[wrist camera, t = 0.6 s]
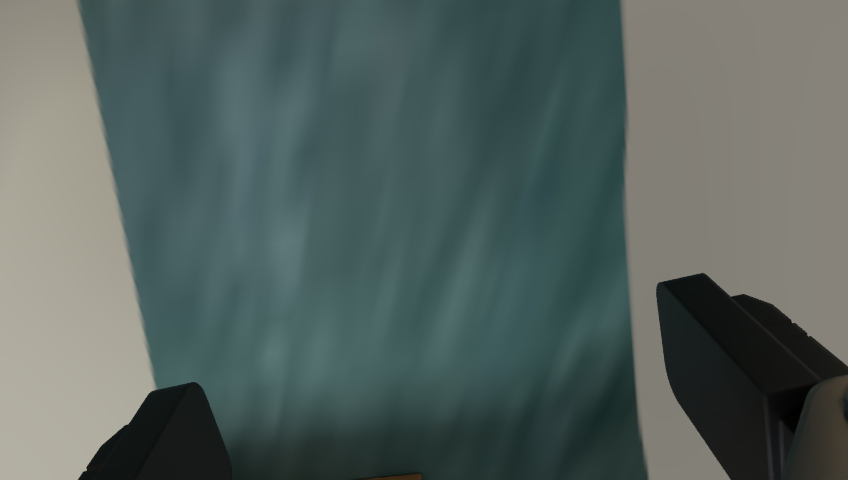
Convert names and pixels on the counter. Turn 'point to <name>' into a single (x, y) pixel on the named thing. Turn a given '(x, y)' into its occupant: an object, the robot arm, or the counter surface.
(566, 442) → the counter surface
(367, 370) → the counter surface
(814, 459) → the robot arm
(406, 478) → the carton
